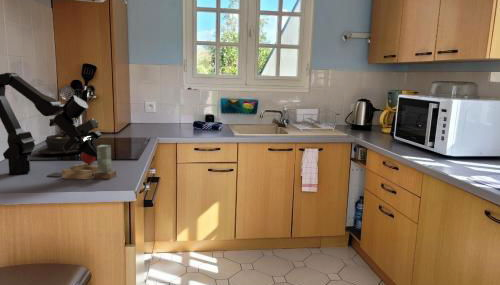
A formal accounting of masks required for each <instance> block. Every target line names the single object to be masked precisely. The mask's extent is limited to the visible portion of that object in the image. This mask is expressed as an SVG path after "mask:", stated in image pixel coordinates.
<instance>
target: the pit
mask: <svg viewBox="0 0 500 285" xmlns="http://www.w3.org/2000/svg"><path fill="white" fill-rule="evenodd" d="M46 177H47V178H61V177H62V172H53V173H50V174H47V175H46Z"/></svg>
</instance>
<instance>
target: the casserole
mask: <svg viewBox="0 0 500 285" xmlns="http://www.w3.org/2000/svg"><path fill="white" fill-rule="evenodd" d="M63 134H64V133H62V134H60V133H59V134H52V135H48V136H46V137H45V138H46V139H45V140H44V143H45V144H46V148H43V149H40V150H38V151H37V153H40V154H45V155H59V156H60V155H64V156H65V155H73V154H77V153H79V151H76V150H77V149H78V147H77V145H75V146H73V147H72V148H71V151H70V152H67V153H66V152H65V151H64V150H63V145H64V143H65V142H66V141H67V140H68V139H69V137H68V136H66V137H64V136H63Z"/></svg>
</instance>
